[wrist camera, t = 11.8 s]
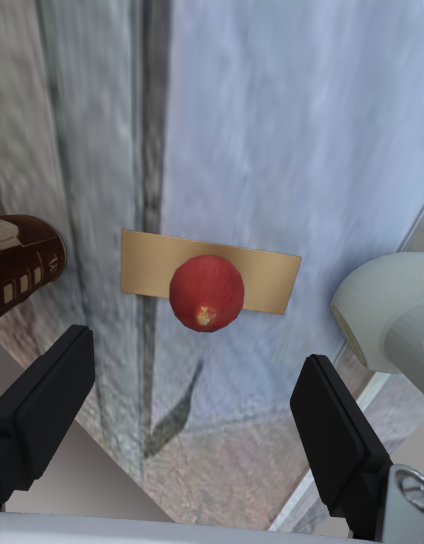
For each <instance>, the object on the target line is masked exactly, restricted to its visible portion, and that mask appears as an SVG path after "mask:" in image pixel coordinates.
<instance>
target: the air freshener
mask: <svg viewBox="0 0 424 544" xmlns="http://www.w3.org/2000/svg"><path fill="white" fill-rule="evenodd" d="M330 307H331V310H332V313H333V315H334V317H335V320H336V322H337V324H338V326H339V328H340V330H341V332H342V334H343V335H344V337H345V339H346V341H347V342H348V344H349V346H350V347H351V349H352V350H353V352H354V354H355V355H356V356H357V358H358V359H359V361H360V362H361V363H362V364H363V366H364V367H365V368H367V369H369V370H373V371H377V372H382V373H391V374H398V373H403V374H404V375H405V376H406V377H407V378H408V379H409V380H410V381H411V382H412V383H413V384H414V385H415V386H416V387H417V388H418V389H419V390H420V391H421V392H422V393H423V394H424V253H422V252H397V253H392V254H387V255H383V256H380V257H377V258H374V259H372V260H370V261H368V262H366V263H364V264H362V265H361V266H359V267H358V268H356V269H355V270H354V271H352V272H351V273H350V274H349V275H348V276H347V277H346V278H345V279H344V280H343V281H342V282H341V284H340V285H339V286H338V288H337V289H336V291H335V292H334V295H333V297H332V299H331V302H330Z"/></svg>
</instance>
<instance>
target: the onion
mask: <svg viewBox="0 0 424 544" xmlns="http://www.w3.org/2000/svg"><path fill="white" fill-rule="evenodd" d="M244 293H245V288H244V283H243V280H242V277H241V274H240V273H239V271H238V270H237V269H236V268H235V267H234V265H233V264H232V263H231V262H230V261H228V260H226V259H224V258H222V257H220V256H218V255H204V254H203V255H200V256H196V257H193V258H190V259H189V260H187V261H186V262H185V263H183V264H182V265H181V266H180V267H178V268H177V269H176V271H175V273H174V275H173V277H172V279H171V281H170V286H169V301H170V305H171V307H172V309H173V312H174V314H175V316H176V317H177V318H178V319H179V320H180V321H181V322H182V324H183V325H184V326H186V327H188V328H190V329H192V330H195V331H197V332H211V333H212V332H214V331H217V330H219V329H221V328H223V327H225V326H227V325H228V324H229V323H231V322H232V321H233V320H235V319H236V318H237V316H238V314H239V312H240V311H241V309H242V307H243V304H244Z"/></svg>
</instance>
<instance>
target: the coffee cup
mask: <svg viewBox="0 0 424 544" xmlns="http://www.w3.org/2000/svg"><path fill="white" fill-rule="evenodd" d="M65 263H66V249H65V245H64V243H63V241H62V239H61V236H60V235H59V234H58V233H57V232H56V231H55V230H54V229H53V228H52V227H51V226H50V225H48V224H47V223H46V222H45V221H43V220H41V219H39V218H36V217H33V216H28V215H6V216H0V317H1V316H2V315H4V314H5V313H7V312H8V311H9V310H10V309H12V308H13V307H15V306H16V305H18V304H20V303H22V302H24V301H25V300H27V299H28V297H29V296H30V295H31V294H33V293H34V292H35V291H36V290H37V289H39V288H41V287H43V286H45V285H46V284H47V283H49V282H52V281H54V280H56V279H57V278H58V277H59V276H60V275H61V273H62V271H63V269H64V266H65Z"/></svg>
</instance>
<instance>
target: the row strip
mask: <svg viewBox="0 0 424 544" xmlns="http://www.w3.org/2000/svg"><path fill="white" fill-rule="evenodd" d="M203 254H204V255H218V256H220V257H222V258H224V259H226V260H228V261H230V262H231V263H232V264H233V265H234V267H235V268H236V269H237V270H238V271H239V273H240V274H241V277H242V280H243V283H244V288H245V293H244V304H243V307H242V309H247V310H254V311H261V312H268V313H275V314H282V315H284V313H285V310H286V307H287V304H288V300H289V297H290V294H291V291H292V287H293V284H294V281H295V278H296V274H297V271H298V268H299V265H300V262H301V258H302V257H300V256H294V255H287V254H281V253H274V252H268V251H261V250H255V249H248V248H242V247H235V246H229V245H222V244H216V243H210V242H203V241H197V240H190V239H184V238H177V237H171V236H164V235H158V234H151V233H145V232H138V231H132V230H125V229H122V247H121V292H127V293H134V294H141V295H148V296H155V297H162V298H169V286H170V281H171V279H172V277H173V275H174V273H175V271H176V269H177V268H178V267H180V266H181V265H182V264H183V263H185V262H186V261H187V260H189V259H190V258H193V257H196V256H200V255H203Z"/></svg>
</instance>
